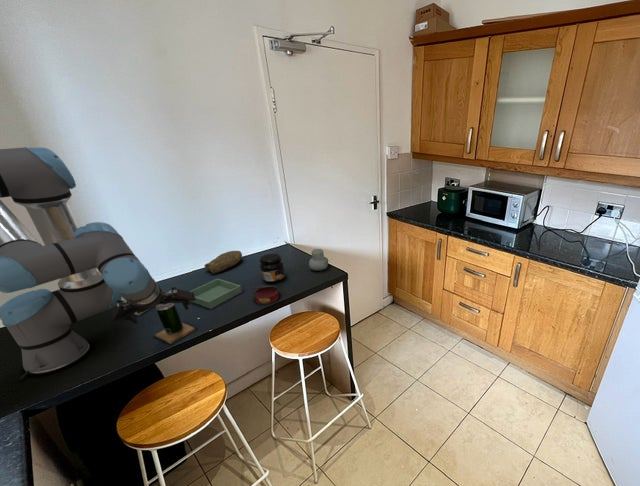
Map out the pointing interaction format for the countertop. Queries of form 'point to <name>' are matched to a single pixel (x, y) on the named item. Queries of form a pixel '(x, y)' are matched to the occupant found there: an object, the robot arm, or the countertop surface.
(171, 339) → the coaster
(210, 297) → the bin
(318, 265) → the air freshener
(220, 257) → the brown oval lump
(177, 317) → the beer can
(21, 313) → the robot arm
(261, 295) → the canned food
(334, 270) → the countertop surface
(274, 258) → the supplement container
